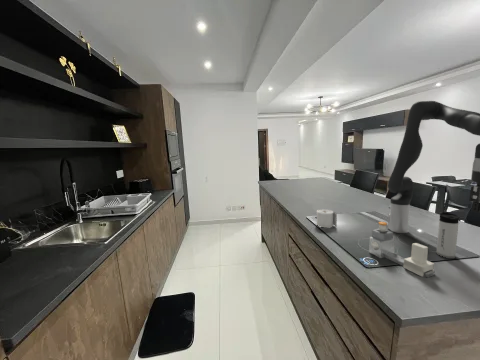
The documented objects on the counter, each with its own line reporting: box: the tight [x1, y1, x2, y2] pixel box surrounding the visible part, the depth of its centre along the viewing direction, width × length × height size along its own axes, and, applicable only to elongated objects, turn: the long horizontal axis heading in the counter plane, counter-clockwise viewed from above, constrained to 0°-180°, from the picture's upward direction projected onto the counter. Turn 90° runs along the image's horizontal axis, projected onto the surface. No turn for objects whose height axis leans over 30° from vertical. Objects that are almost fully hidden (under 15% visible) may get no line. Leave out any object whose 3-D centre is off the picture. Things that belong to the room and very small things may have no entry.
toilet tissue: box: [316, 208, 338, 228], centre depth 140 cm, size 11×12×10 cm
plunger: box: [378, 221, 388, 233], centre depth 100 cm, size 3×3×5 cm
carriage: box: [402, 242, 435, 278], centre depth 86 cm, size 7×7×11 cm
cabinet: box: [368, 228, 396, 259], centre depth 101 cm, size 6×9×12 cm, turn 109°
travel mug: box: [436, 211, 460, 259], centre depth 96 cm, size 6×7×20 cm
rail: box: [383, 252, 436, 278], centre depth 91 cm, size 18×4×2 cm, turn 19°
